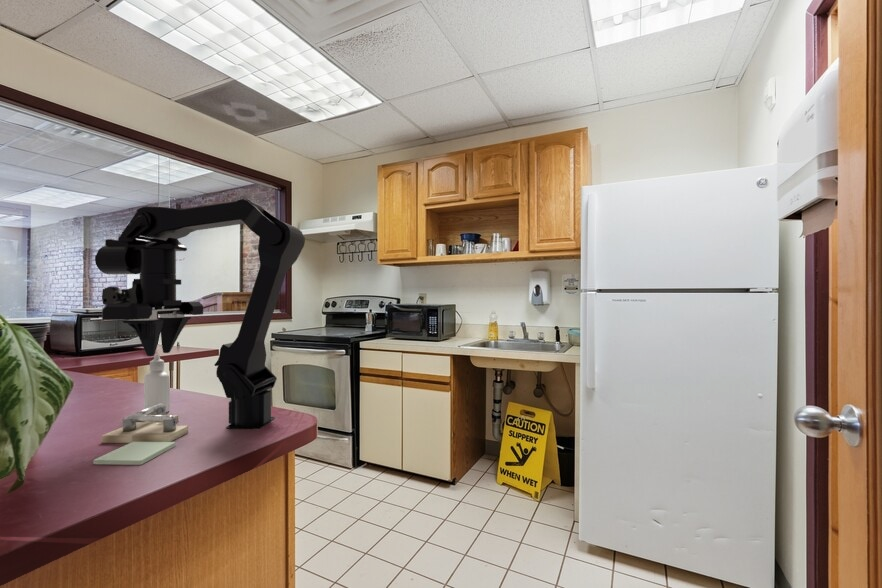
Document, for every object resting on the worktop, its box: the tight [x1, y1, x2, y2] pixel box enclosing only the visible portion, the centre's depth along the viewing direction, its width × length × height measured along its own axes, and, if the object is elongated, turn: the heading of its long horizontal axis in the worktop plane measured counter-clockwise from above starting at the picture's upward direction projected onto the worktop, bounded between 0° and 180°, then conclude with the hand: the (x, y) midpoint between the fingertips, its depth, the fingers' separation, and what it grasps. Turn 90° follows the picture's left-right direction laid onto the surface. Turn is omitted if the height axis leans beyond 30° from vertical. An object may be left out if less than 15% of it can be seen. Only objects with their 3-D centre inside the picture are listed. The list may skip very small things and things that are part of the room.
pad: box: [93, 441, 176, 466], centre depth 59 cm, size 7×7×1 cm
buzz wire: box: [101, 404, 189, 444], centre depth 69 cm, size 11×11×4 cm
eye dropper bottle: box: [143, 353, 171, 415], centre depth 81 cm, size 4×6×12 cm
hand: (158, 354), depth 75 cm, fingers open, 4 cm apart
